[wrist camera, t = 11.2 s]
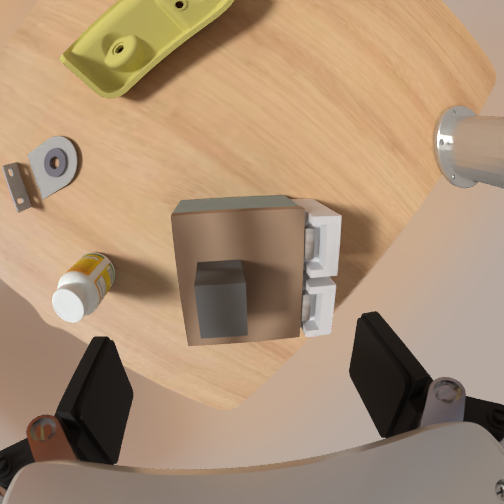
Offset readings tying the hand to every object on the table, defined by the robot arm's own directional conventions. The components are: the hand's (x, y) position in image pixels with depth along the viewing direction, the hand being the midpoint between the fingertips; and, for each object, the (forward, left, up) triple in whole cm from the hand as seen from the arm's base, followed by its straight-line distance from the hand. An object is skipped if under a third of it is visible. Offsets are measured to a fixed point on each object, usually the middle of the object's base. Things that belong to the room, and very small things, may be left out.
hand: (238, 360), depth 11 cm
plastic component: (+7, -23, -26) cm, 36 cm away
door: (-1, +5, -19) cm, 19 cm away
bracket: (+23, -8, -26) cm, 35 cm away
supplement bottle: (+17, +6, -26) cm, 31 cm away
